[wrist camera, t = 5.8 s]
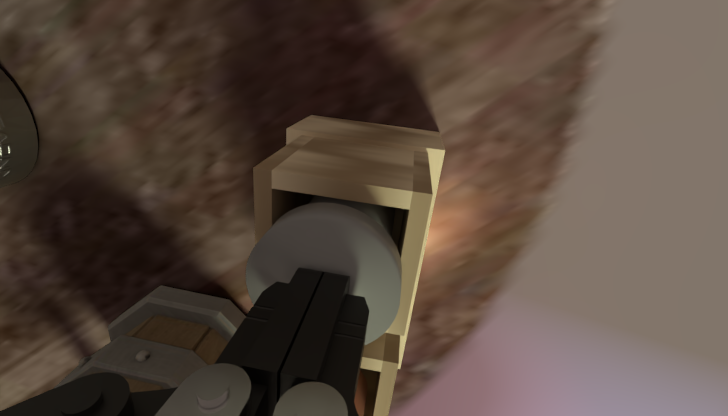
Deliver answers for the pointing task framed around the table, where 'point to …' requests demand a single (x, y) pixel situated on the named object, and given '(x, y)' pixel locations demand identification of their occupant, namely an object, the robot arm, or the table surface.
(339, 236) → the grey mushroom plug
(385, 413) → the frame
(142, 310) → the tankard
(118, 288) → the table surface
